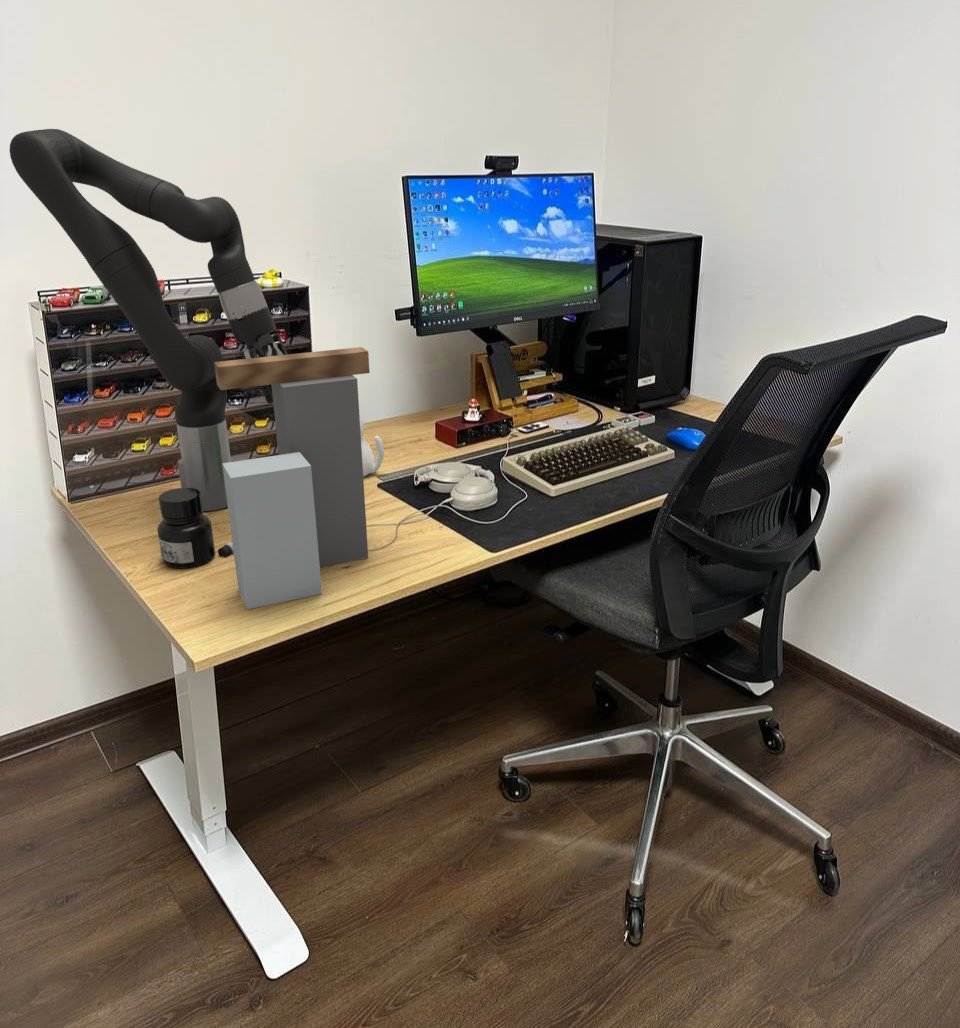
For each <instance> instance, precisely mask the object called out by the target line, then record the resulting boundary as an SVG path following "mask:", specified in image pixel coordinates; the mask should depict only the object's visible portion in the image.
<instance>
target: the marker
mask: <svg viewBox="0 0 960 1028" xmlns="http://www.w3.org/2000/svg"><path fill="white" fill-rule="evenodd" d="M217 554H218V556H219V557H222V558H227V557H228V556H231V555H233V554H234V551H233V543H232V540H231V541H229V542H227V543H225V544H224V545H222V546H221V547H219V548H218V550H217Z"/></svg>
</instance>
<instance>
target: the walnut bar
mask: <svg viewBox="0 0 960 1028" xmlns="http://www.w3.org/2000/svg"><path fill="white" fill-rule="evenodd" d="M369 356H370V355H369V351H368V349H365V348H364V347H362V346H358V347H350V348H349V347H348V348H341V349H340V348H339V349H330V350H329V349H328V350H319V351H312V352H311V351H310V352H301V353H290V354H288V355H279V356H269V357H260V358H250V359H242V358H241V359H233V360H230V359H229V360H224V361H221V362H214V365H215V373H216V381H217V385H218V387H219V388H220V390H227V391H228V390H234V389H243V388H250V387H252V388H253V387H259V386H262V385H270V384H279V383H288V382H296V381H305V380H314V379H322V378H331V377H340V376H348V375H353V376H355V375H364V374H370V359H369Z"/></svg>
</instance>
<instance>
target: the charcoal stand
mask: <svg viewBox="0 0 960 1028" xmlns="http://www.w3.org/2000/svg"><path fill="white" fill-rule="evenodd" d="M271 386H272V395H273V403H272V404H273V412H274V413H273V414H274V425H275V433H276V442H277V443H276V445H277V452H278V454H277V455H283V454H290V453H296V452H300V453H301V454H302V456H303V457H304V458H305V459H306V460H307V462H308V463H309V464H310V465H311V471H312V483H313V495H314V506H315V518H316V529H317V541H318V552H319V564H320V568H321V567H322V568H323V567H326V566H328V567H329V566H333V565H337V564H342V563H346V562H352V561H359V560H362V559H367V558H369V550H368V548H369V547H368V532H367V531H368V530H367V518H366V517H367V515H366V503H365V502H366V501H365V500H366V499H365V498H366V497H365V485H364V484H365V483H364V481H365V480H364V477H363V464H362V448H361V438H362V437H361V432H360V416H361V415H360V403H359V387H358V378H357V377H356V376H355V375H348V376H340V377H331V378H322V379H314V380H305V381H296V382H288V383H279V384H271ZM359 415H360V416H359Z"/></svg>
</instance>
